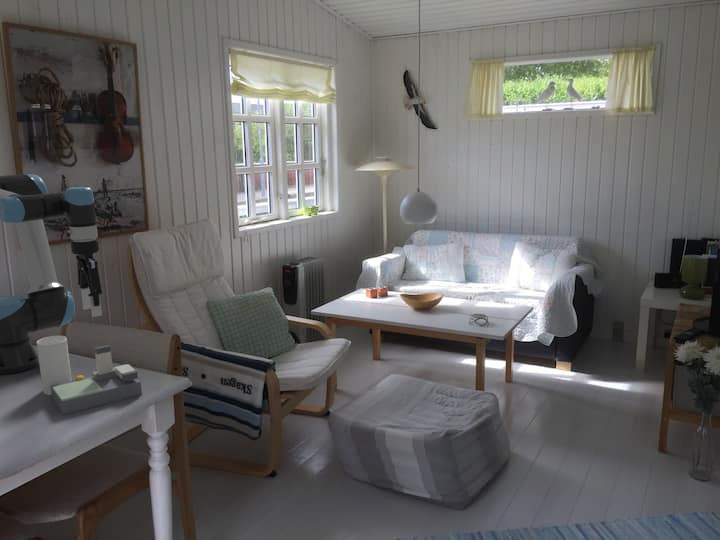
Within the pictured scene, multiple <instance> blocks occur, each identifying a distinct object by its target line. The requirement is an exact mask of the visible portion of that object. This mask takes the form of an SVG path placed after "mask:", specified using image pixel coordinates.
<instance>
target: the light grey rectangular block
mask: <svg viewBox="0 0 720 540" xmlns="http://www.w3.org/2000/svg"><path fill="white" fill-rule="evenodd" d="M94 355H95V366H96V371H97V373H98V374H99V375H101V374H105V373H109V372H113V367H114V366H113V359H112V350H111V345H109V344H106V345H100V346H95V347H94Z"/></svg>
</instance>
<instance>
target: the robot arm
mask: <svg viewBox="0 0 720 540" xmlns="http://www.w3.org/2000/svg"><path fill="white" fill-rule="evenodd" d="M95 207H96V206H95V197H94V192H93V189H92V188H91V187H89V186H73V187H67V188H66V189H65V190H61V191H60V190H59V191H55V192H51V193H50V192H49V190H48V187H47V186H46V183H45V182H44V180H43V179H42V178H41V177H40V176H39V175H37V174H33V173H32V174H30V173H29V174H28V173H27V174H26V173H21V174H11V175H9V174H8V175H0V220H1V221H2V222H3V223H4V224H15V227H16V230H17V231H16V232H17V234H18V235H17V236H18V239H19V244H20V247H21V248H20V249H21V251H22V257H23V260H24V265H25V269H26V273H27V277H28V280H29V281H28V282H29V286H30V288H29V290H28V291H27V293H26V294H27V298H25V296H24V295H20V294H19V295H17V294H15V295H8V296H5V297H0V375H13V374H18V373H21V372H22V373H23V372H25V371H28V370H31V369H33V368H35V367H37V366H38V365H40V364H39V357H38V351H36V349H35V347H34V345H33V344H32V341H31V335H30V334H31V333H34V332H35V333H36V332H40V331H45V330H47V329H49V330H50V329H53V328H59V327H62V326H65V325H68V324H70V323H71V322H72V321H73V319H74V316H75V310H76V308H75V306H76V305H75V301H74V297H73V295H72V292H71V291H69V290H65V287H64V285H62V284H61V283H60V282H58V278H57V273H56V269H55V265H54V261H53V257H52V252H51V248H50V244H49V240H48V236H47V233H46V232H47V231H46V227H45V224H44V223H45V222H44V220H51V219H60V218H67V221H68V228H69V229H68V230H67V233H68V234H69V236H70V237H69V238H70V240H72V241H71V242H70V247H71V248H70V249H71V253H72V254H74V255H75V258H76V265H77V269H76V270H77V285H78V286H79V288H80V294H81V304H82V310H83V311H84V310H90V311H91V312H90V313H91V317H92V318H95V317H101V316H103V313H102V302H101V295H102V294H103V291H102V284H101V280H100V275H99V265H98V261H97V260H96V258H94V255H93V254H95V253H96V254H97V253H98V252H99V251H100V248H99V247H100V246H99V240H98V239H97V238H98V237H99V236H98V235H99V234H98V227H97V219H96V210H95V209H96V208H95Z"/></svg>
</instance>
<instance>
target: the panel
mask: <svg viewBox="0 0 720 540" xmlns="http://www.w3.org/2000/svg"><path fill="white" fill-rule="evenodd" d="M112 367H113V372H109V373H105V374H101V375H99V374H98V373H97V370H94V371H92V372H91V373H92V375H90V376H87V377H85V376H84V375H81V374H80V375H77V376H75V379H73V380H72V381H69V382H64V383H60V384H56V385H52V386H50V387H51V394H52V395H51V399H52V400H53V402H54V403H55V404H56V406H57V408H58V409H59V410H60V411H61V413H62V414H63V415H67V414H71V413H76V412H79V411H83V410H87V409H90V408H95V407H99V406H102V405H106V404H109V403H114V402H118V401H121V400H125V399H129V398H133V397H136V396H140V395H142V394H143V391H142V384H141V383H142V382H141V381H140V379H139V378H138V371H137V370H136V369H135V368H133V367H132V365H130V364H127V363H126V364H121V365H117V366H112Z"/></svg>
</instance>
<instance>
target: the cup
mask: <svg viewBox="0 0 720 540" xmlns="http://www.w3.org/2000/svg"><path fill="white" fill-rule="evenodd" d="M36 348H37V354H38V357H39V364H38V365H39V371H40V378H41V386H42V387H41V388H42V392H43V394H44V395H47V396H48V395H50V396H52V394H51V387H50V386H52V385H56V384H60V383H64V382H69V381H73V380H72V371H71V363H70V362H71V361H70V355H69V347H68V339H67V337H66V336H65V335H50V336H45V337H43V338H40V339H38V340H37V341H36Z"/></svg>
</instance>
